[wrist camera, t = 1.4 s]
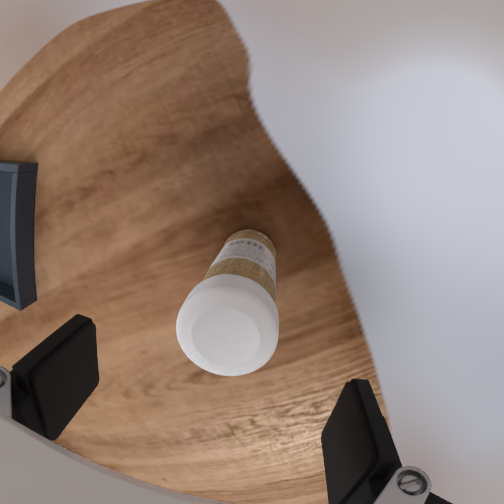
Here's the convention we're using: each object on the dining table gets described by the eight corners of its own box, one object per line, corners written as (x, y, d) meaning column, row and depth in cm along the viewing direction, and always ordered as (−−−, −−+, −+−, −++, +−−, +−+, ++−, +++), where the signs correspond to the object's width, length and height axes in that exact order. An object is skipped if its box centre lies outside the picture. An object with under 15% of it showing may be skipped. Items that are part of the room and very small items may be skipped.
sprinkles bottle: (214, 267, 26) (161, 354, 13) (235, 218, 25) (193, 270, 12) (263, 289, 26) (252, 393, 13) (286, 242, 25) (298, 316, 12)
